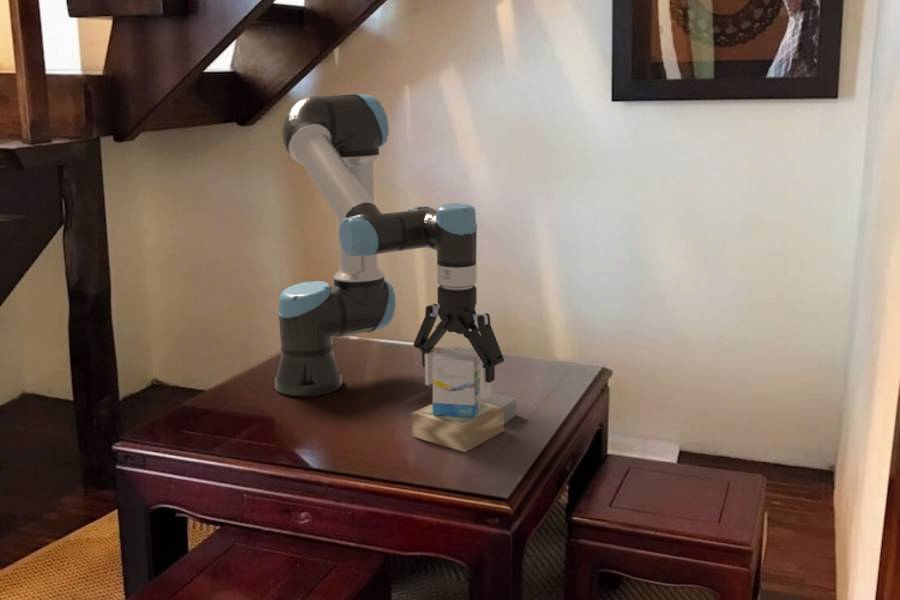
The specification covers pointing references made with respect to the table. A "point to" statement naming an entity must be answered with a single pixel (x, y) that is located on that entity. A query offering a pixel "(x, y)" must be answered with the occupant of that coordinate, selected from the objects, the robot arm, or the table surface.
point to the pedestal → (458, 427)
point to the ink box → (456, 382)
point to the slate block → (503, 405)
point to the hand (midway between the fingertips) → (457, 390)
